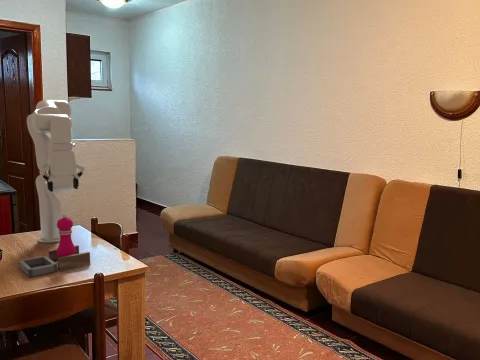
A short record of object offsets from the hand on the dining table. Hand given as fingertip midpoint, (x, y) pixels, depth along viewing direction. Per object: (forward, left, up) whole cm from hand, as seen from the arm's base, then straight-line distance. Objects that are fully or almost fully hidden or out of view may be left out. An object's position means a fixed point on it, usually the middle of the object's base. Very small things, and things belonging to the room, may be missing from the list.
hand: (63, 189), depth 185 cm
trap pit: (+4, -13, -29) cm, 32 cm away
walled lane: (+4, -1, -29) cm, 30 cm away
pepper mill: (+4, -2, -29) cm, 29 cm away
